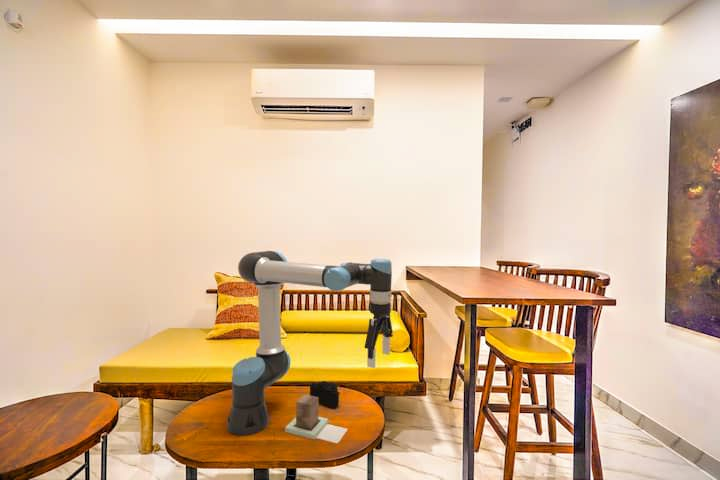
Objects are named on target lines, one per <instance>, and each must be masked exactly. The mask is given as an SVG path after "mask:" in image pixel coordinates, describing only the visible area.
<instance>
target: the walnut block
mask: <svg viewBox="0 0 720 480" xmlns="http://www.w3.org/2000/svg"><path fill="white" fill-rule="evenodd" d="M319 405H320V404H319V397H315V396H310V394H303V395H302V396H301V397H300V398H299V399H297V400H296V403H295V412H296V413H295V418H296V427H298V428H302V429H305V430H309V431H312V430H313V429H314V427H315V426H316V425H317V424H318V416H319Z"/></svg>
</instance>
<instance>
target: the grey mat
mask: <svg viewBox="0 0 720 480" xmlns="http://www.w3.org/2000/svg"><path fill="white" fill-rule="evenodd" d="M348 430H349V429H348V428H345V427H342V426H336V425H333V424H329V423H328V424H327V425H326V426H325V427H324V428H323V430H322V431H321V432H320V433H319V434H318V436H317V437H316V438H315V439H319V440H322V441H327V442H330V443H335V444H338V443H339V442H340V441H341V440H342V438H343V437H344V436H345V434H346V432H347V431H348Z"/></svg>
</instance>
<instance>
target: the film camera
mask: <svg viewBox="0 0 720 480" xmlns="http://www.w3.org/2000/svg"><path fill="white" fill-rule="evenodd" d="M338 389H339V388H338V386H337V385H336V383H334V382H332V381H331V382H328V381H326V380H323V381H319V382H318V383H317V382H314V381H313V382H312V383H311V384H310V387H309V395H310V396H315V397H319V405H320V406H321V407H322V406H323V407H326V408H328V409H331V410H336V409H338V408H339V403H340V396H341V392H340V391H338Z"/></svg>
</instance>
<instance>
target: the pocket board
mask: <svg viewBox="0 0 720 480" xmlns="http://www.w3.org/2000/svg"><path fill="white" fill-rule="evenodd" d="M327 424H329V418H326V417H323V416H319V415H318V424H317V425H316V426H315V427H314V429H313V430H312V431H309V430H305V429H302V428H298V427H296V417H294V418H293V419H292V421H290V423H289V424H287V425H286V426H285V427H284V428H285V429H284V431H285V433H286V434H291V435H296V436H298V437H303V438H306V439H307V438H308V439H310V440H315V439H317V438H316V437H317V436H318V434H319V433H320V432H321V431H322V430H323V428H324V427H325V426H326V425H327Z"/></svg>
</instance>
